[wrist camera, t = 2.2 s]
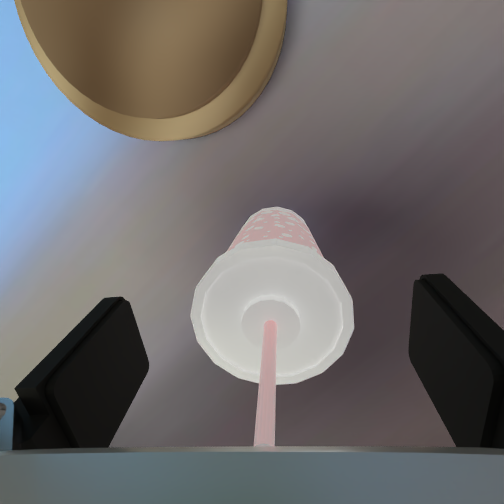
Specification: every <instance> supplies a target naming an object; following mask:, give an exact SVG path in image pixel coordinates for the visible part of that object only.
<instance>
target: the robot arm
mask: <svg viewBox="0 0 504 504" xmlns="http://www.w3.org/2000/svg"><path fill="white" fill-rule="evenodd" d="M409 357H410V361H411V363H412V365H413V367H414V368H415V370H416V372H417V374H418V376H419V378H420V380H421V381H422V383H423V385H424V387H425V389H426V391H427V393H428V395H429V396H430V398H431V400H432V402H433V404H434V406H435V408H436V409H437V411H438V413H439V415H440V417H441V419H442V421H443V422H444V424H445V426H446V428H447V430H448V432H449V434H450V436H451V437H452V439H453V441H454V443H455V445H456V447H417V446H239V447H124V448H108V447H109V445H110V443H111V441H112V439H113V437H114V435H115V433H116V432H117V430H118V428H119V426H120V424H121V422H122V420H123V418H124V416H125V414H126V413H127V411H128V409H129V407H130V405H131V403H132V401H133V399H134V397H135V395H136V394H137V392H138V390H139V388H140V386H141V384H142V382H143V380H144V378H145V376H146V375H147V373H148V370H149V360H148V357H147V354H146V351H145V348H144V345H143V342H142V339H141V336H140V333H139V330H138V327H137V323H136V320H135V317H134V314H133V311H132V308H131V305H130V303H129V301H127V300H125V299H124V298H123V297H109V298H104V299H102V300H101V301H100V302H99V303H98V304H97V305H96V307H95V308H94V309H93V310H92V311H91V312H90V313H89V314H88V315H87V316H86V317H85V318H84V319H83V320H82V321H81V322H80V323H79V324H78V325H77V326H76V327H75V328H74V329H73V330H72V331H71V332H70V333H69V334H68V335H67V336H66V337H65V338H64V339H63V340H62V341H61V342H60V343H59V344H58V345H57V346H56V347H55V348H54V349H53V350H52V351H51V352H50V353H49V354H48V355H47V356H46V357H45V358H44V359H43V360H42V361H41V362H40V363H39V364H38V365H37V366H36V367H35V368H34V369H33V370H32V371H31V372H30V373H29V374H28V375H27V376H26V377H25V378H24V379H23V380H22V381H21V382H20V383H19V384H18V385H17V386H16V387H15V388H14V389H15V390H16V392H17V394H18V396H19V398H18V399H17V400H16V401H15V402H13V401H12V400H11V399H9V398H0V504H504V331H503V330H502V329H501V328H500V327H499V326H498V325H497V324H496V323H495V322H494V321H493V320H492V319H491V318H490V317H489V316H488V315H487V314H486V313H485V312H483V311H482V310H481V309H480V308H479V307H478V306H477V305H476V304H475V303H474V302H473V301H472V300H471V299H470V298H469V297H468V296H467V295H466V294H464V293H463V292H462V291H461V290H460V289H459V288H458V287H457V286H456V285H455V284H454V283H453V282H452V281H451V280H450V279H449V278H448V277H447V276H445V275H444V274H429V275H422V276H421V277H420V280H415V282H414V286H413V299H412V312H411V325H410V337H409Z"/></svg>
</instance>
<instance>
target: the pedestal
mask: <svg viewBox="0 0 504 504" xmlns="http://www.w3.org/2000/svg"><path fill="white" fill-rule="evenodd" d="M14 1H15V5H16V8H17V12H18V15H19V18H20V21H21V24H22V26H23V29H24V32H25V34H26V37H27V39H28V41H29V43H30V45H31V47H32V49H33V51H34V53H35V55H36V57H37V58H38V60H39V62H40V63H41V65H42V67H43V68H44V70H45V71H46V73H47V74H48V76H49V77H50V78H51V79H52V81H53V82H54V83H55V85H56V86H57V87H58V89H59V90H60V91H61V92H62V93H63V94H64V95H65V96H66V97H67V98H68V99H69V100H70V101H71V102H72V103H73V104H74V105H75V106H76V107H78V108H79V109H80V110H81V111H82V112H83V113H85V114H86V115H88V116H89V117H90V118H92V119H93V120H95V121H96V122H98V123H99V124H101V125H103V126H105V127H107V128H109V129H111V130H113V131H115V132H118V133H121V134H124V135H126V136H129V137H134V138H138V139H143V140H152V141H170V140H182V139H192V138H197V137H202V136H206V135H208V134H211V133H214V132H217V131H219V130H220V129H222V128H224V127H226V126H228V125H230V124H231V123H232V122H234V121H235V120H236V119H238V118H239V117H241V116H242V115H243V114H244V113H245V112H246V111H247V110H248V109H249V108H250V107H251V106H252V105H253V103H254V102H255V101H256V100H257V98H258V97H259V96H260V95H261V93H262V91H263V90H264V88H265V86H266V85H267V83H268V82H269V80H270V78H271V75H272V73H273V71H274V69H275V67H276V64H277V61H278V58H279V55H280V52H281V49H282V44H283V39H284V34H285V27H286V16H287V0H14Z"/></svg>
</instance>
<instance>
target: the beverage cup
mask: <svg viewBox="0 0 504 504" xmlns="http://www.w3.org/2000/svg"><path fill="white" fill-rule="evenodd" d="M190 316H191V320H192V324H193V328H194V331H195V335H196V339H197V342H198V343H199V344H200V346H201V347H202V348H203V349H204V351H205V352H206V353H207V355H208V356H209V357H210V358H211V360H212V361H213V362H214V363H215V364H216V365H218V366H220V367H221V368H223V369H224V370H226V371H228V372H229V373H231V374H232V375H234V376H236V377H237V378H239V379H244V380H248V381H252V382H256V383H259V391H258V402H257V414H256V425H255V437H254V446H275V402H276V385H279V384H296V383H298V382H301V381H303V380H306V379H308V378H311V377H313V376H316V375H318V374H321V373H323V372H324V371H325V370H326V369H327V368H328V367H329V366H331V365H332V364H333V363H334V362H335V361H336V360H337V359H338V358H339V357H340V356H341V355H343V353H344V351H345V349H346V346H347V344H348V342H349V340H350V337H351V335H352V333H353V330H354V315H353V300H352V297H351V295H350V294H349V292H348V290H347V288H346V286H345V285H344V283H343V281H342V279H341V278H340V276H339V274H338V272H337V271H336V269H335V267H334V265H333V264H331V263H330V262H329V261H327V260H326V259H325V258H324V257H323V255H322V253H321V251H320V249H319V247H318V246H317V244H316V242H315V240H314V238H313V236H312V234H311V232H310V230H309V228H308V227H307V225H306V223H305V221H304V220H303V218H301V217H300V216H299V215H297V214H296V213H295V212H293V211H292V210H289V209H285V208H281V207H271V208H264V209H262V210H260V211H258V212H256V213H255V214H253V215H251V216H250V217H249V219H248V220H247V221H246V223H245V224H244V225H243V227H242V228H241V230H240V231H239V233H238V235H237V236H236V238H235V239H234V241H233V242H232V244H231V245H230V247H229V248H228V250H227V252H226V253H224V254H223V255H221V256H219V257H218V258H217V259H216V260H215V262H214V263H213V264H212V266H211V267H210V268H209V270H208V271H207V272H206V274H205V275H204V276H203V278H202V279H201V281H200V282H199V284H198V285H197V287H196V288H195V293H194V298H193V304H192V309H191V315H190Z"/></svg>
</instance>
